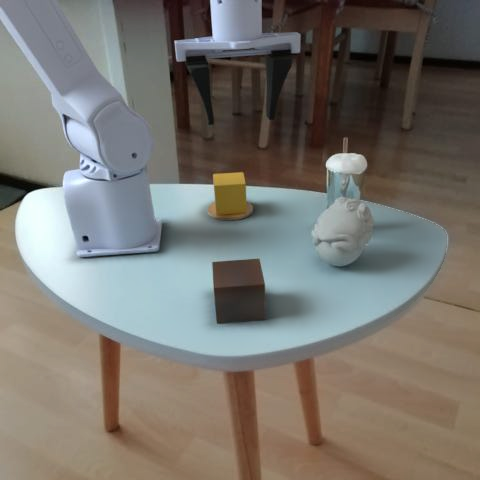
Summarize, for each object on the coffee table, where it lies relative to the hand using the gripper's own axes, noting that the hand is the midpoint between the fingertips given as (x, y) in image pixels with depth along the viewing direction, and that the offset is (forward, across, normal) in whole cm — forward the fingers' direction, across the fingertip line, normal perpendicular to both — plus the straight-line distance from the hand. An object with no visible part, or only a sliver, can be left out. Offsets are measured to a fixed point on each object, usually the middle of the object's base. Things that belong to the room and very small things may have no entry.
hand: (240, 120), depth 62 cm
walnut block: (+10, -4, -26) cm, 28 cm away
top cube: (+10, -2, -4) cm, 11 cm away
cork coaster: (+10, -2, -4) cm, 11 cm away
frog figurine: (+11, +8, -20) cm, 24 cm away
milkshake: (+11, +10, -12) cm, 19 cm away
